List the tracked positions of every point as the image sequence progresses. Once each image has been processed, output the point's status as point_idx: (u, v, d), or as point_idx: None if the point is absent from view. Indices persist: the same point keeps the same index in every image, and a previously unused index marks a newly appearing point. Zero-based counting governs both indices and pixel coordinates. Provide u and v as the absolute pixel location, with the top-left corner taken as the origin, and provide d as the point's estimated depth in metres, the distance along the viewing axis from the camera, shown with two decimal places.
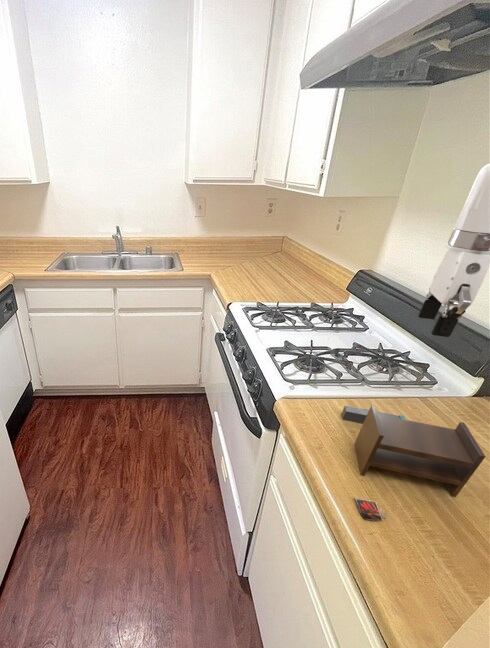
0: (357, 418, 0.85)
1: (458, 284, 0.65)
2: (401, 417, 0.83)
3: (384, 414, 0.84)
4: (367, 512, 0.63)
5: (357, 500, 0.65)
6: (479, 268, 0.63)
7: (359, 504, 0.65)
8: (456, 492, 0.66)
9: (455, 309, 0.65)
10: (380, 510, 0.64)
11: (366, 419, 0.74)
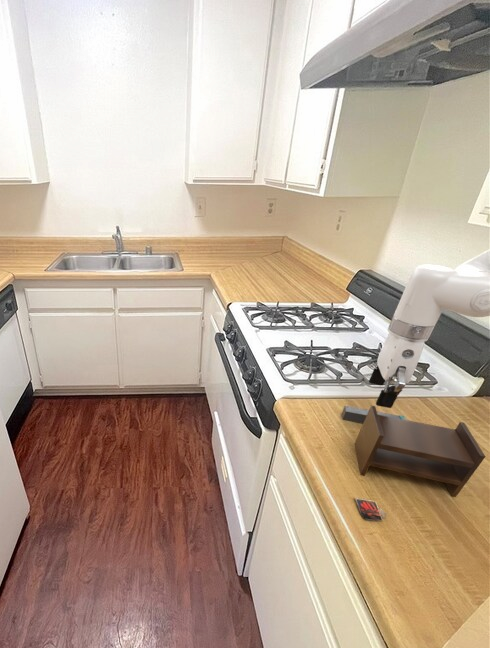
0: (357, 418, 0.85)
1: (396, 366, 0.72)
2: (401, 417, 0.83)
3: (384, 414, 0.84)
4: (367, 512, 0.63)
5: (357, 500, 0.65)
6: (413, 354, 0.70)
7: (359, 504, 0.65)
8: (456, 492, 0.66)
9: (393, 388, 0.72)
10: (380, 510, 0.64)
11: (366, 419, 0.74)
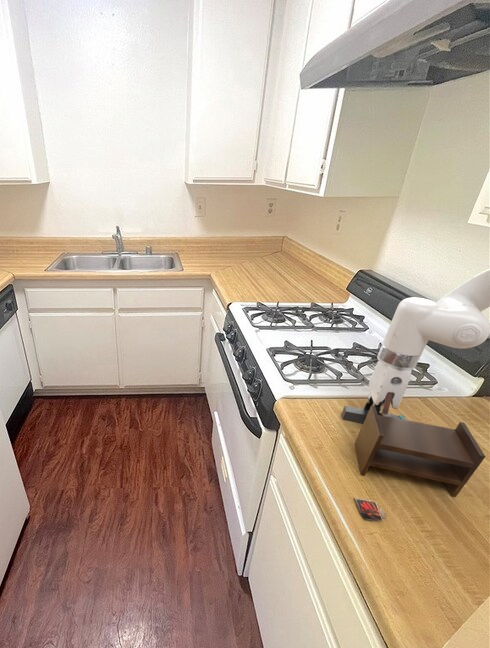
0: (356, 418, 0.85)
1: (385, 392, 0.76)
2: (401, 417, 0.83)
3: (384, 414, 0.84)
4: (367, 512, 0.63)
5: (357, 500, 0.65)
6: (401, 381, 0.74)
7: (359, 504, 0.65)
8: (456, 492, 0.66)
9: (378, 409, 0.79)
10: (380, 510, 0.64)
11: (366, 419, 0.74)
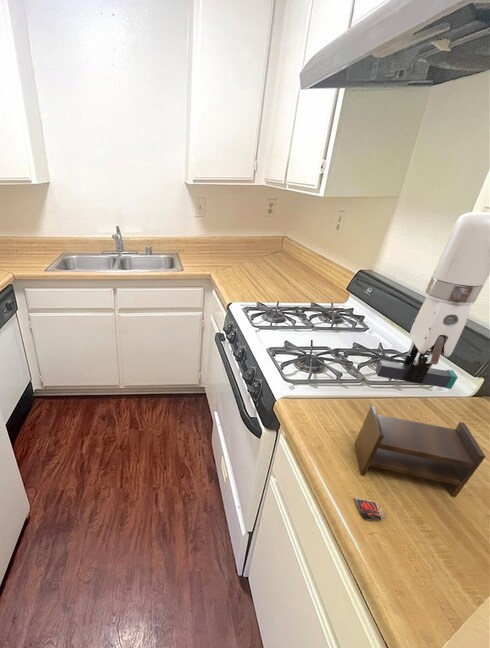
0: (395, 374, 0.71)
1: (436, 335, 0.62)
2: (450, 372, 0.69)
3: (429, 369, 0.70)
4: (367, 512, 0.63)
5: (357, 500, 0.65)
6: (457, 320, 0.60)
7: (359, 504, 0.65)
8: (456, 492, 0.66)
9: (424, 359, 0.65)
10: (380, 510, 0.64)
11: (366, 419, 0.74)
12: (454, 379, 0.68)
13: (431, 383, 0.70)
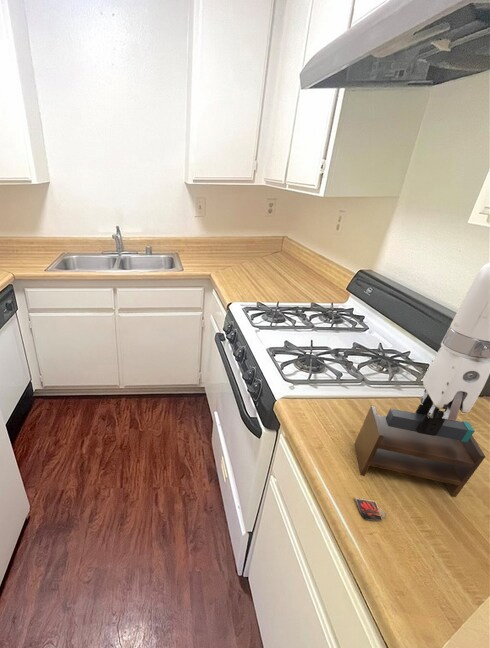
0: (407, 424, 0.66)
1: (454, 391, 0.57)
2: (466, 424, 0.64)
3: None
4: (367, 512, 0.63)
5: (357, 500, 0.65)
6: (478, 376, 0.55)
7: (359, 504, 0.65)
8: (456, 492, 0.66)
9: (441, 414, 0.60)
10: (380, 510, 0.64)
11: (366, 419, 0.74)
12: (471, 433, 0.63)
13: (446, 435, 0.65)
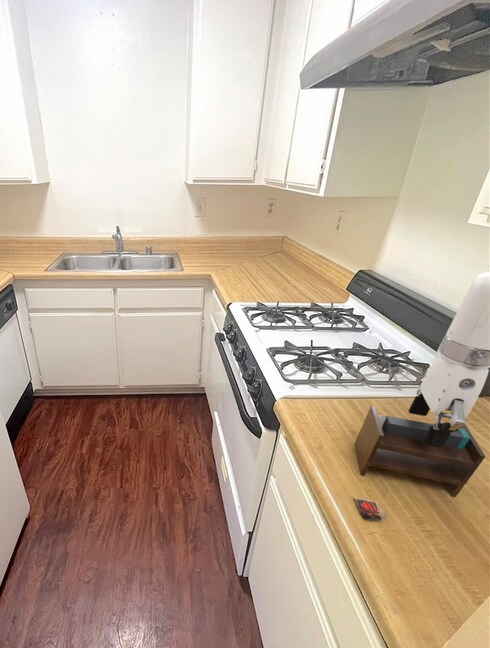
0: (403, 432, 0.67)
1: (450, 398, 0.58)
2: (461, 431, 0.65)
3: None
4: (367, 512, 0.63)
5: (357, 500, 0.65)
6: (474, 384, 0.56)
7: (359, 504, 0.65)
8: (456, 492, 0.66)
9: (447, 426, 0.58)
10: (380, 510, 0.64)
11: (366, 419, 0.74)
12: (466, 440, 0.64)
13: None
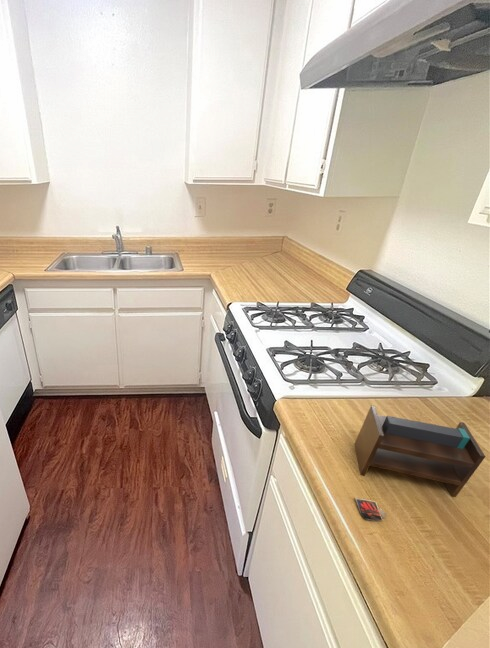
0: (403, 432, 0.67)
1: None
2: (461, 431, 0.65)
3: (439, 427, 0.67)
4: (367, 512, 0.63)
5: (357, 500, 0.65)
6: None
7: (359, 504, 0.65)
8: (456, 492, 0.66)
9: None
10: (380, 510, 0.64)
11: (366, 419, 0.74)
12: (466, 440, 0.64)
13: (441, 442, 0.66)
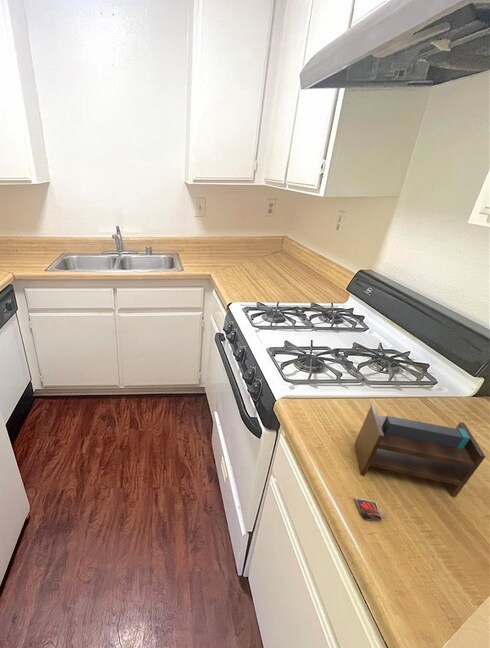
0: (403, 432, 0.67)
1: None
2: (461, 431, 0.65)
3: (439, 427, 0.67)
4: (367, 512, 0.63)
5: (357, 500, 0.65)
6: None
7: (359, 504, 0.65)
8: (456, 492, 0.66)
9: None
10: (380, 510, 0.64)
11: (366, 419, 0.74)
12: (466, 440, 0.64)
13: (441, 442, 0.66)
